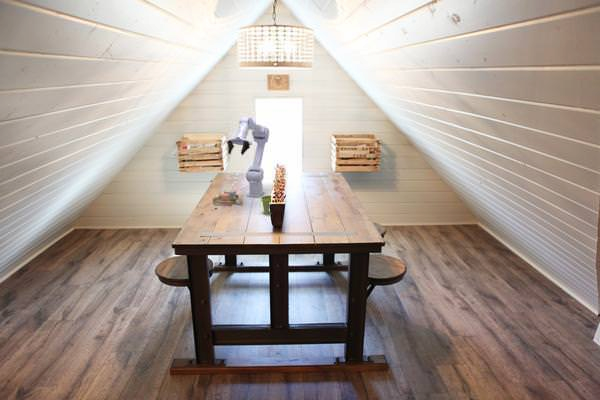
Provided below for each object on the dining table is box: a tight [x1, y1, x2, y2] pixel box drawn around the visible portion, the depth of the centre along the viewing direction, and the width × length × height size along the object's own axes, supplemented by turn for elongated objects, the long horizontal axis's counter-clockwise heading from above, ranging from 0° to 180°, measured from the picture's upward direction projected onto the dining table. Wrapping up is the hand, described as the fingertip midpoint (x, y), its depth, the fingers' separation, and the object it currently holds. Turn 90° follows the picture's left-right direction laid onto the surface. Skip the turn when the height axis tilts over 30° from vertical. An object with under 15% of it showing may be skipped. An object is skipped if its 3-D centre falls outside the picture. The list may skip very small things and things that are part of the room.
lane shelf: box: [212, 190, 239, 207], centre depth 272 cm, size 16×11×4 cm
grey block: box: [226, 189, 237, 198], centre depth 276 cm, size 4×4×6 cm
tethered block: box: [220, 193, 244, 206], centre depth 267 cm, size 4×13×6 cm, turn 74°
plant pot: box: [260, 194, 271, 215], centre depth 251 cm, size 9×9×9 cm
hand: (235, 153), depth 250 cm, fingers open, 7 cm apart
